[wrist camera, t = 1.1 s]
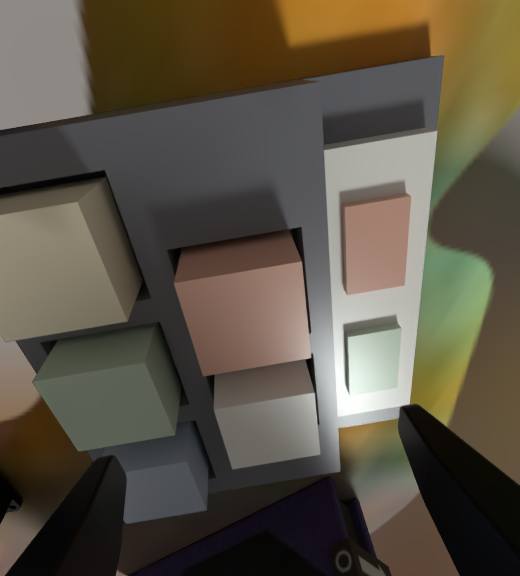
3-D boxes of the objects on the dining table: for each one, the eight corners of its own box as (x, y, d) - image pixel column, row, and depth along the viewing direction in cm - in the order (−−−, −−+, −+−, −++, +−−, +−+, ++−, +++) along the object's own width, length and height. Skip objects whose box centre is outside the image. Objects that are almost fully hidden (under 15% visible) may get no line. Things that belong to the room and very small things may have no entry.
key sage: (98, 399, 19) (78, 451, 16) (61, 333, 16) (32, 381, 14) (181, 385, 19) (175, 435, 16) (157, 317, 16) (144, 362, 14)
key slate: (137, 471, 22) (126, 523, 20) (111, 424, 20) (95, 477, 17) (208, 459, 22) (206, 510, 20) (191, 411, 20) (186, 461, 17)
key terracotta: (206, 330, 17) (203, 376, 15) (182, 246, 15) (173, 283, 12) (298, 314, 17) (311, 358, 15) (288, 228, 15) (301, 261, 12)
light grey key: (231, 419, 20) (232, 469, 18) (215, 361, 18) (213, 409, 16) (308, 406, 20) (320, 454, 18) (301, 347, 18) (314, 392, 16)
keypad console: (136, 450, 26) (123, 508, 22) (-29, 135, 15) (-105, 154, 11) (401, 405, 26) (428, 456, 22) (431, 56, 15) (494, 51, 11)
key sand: (41, 297, 15) (5, 342, 13) (-14, 196, 13) (-71, 227, 11) (143, 280, 15) (127, 321, 13) (105, 176, 13) (77, 201, 11)
